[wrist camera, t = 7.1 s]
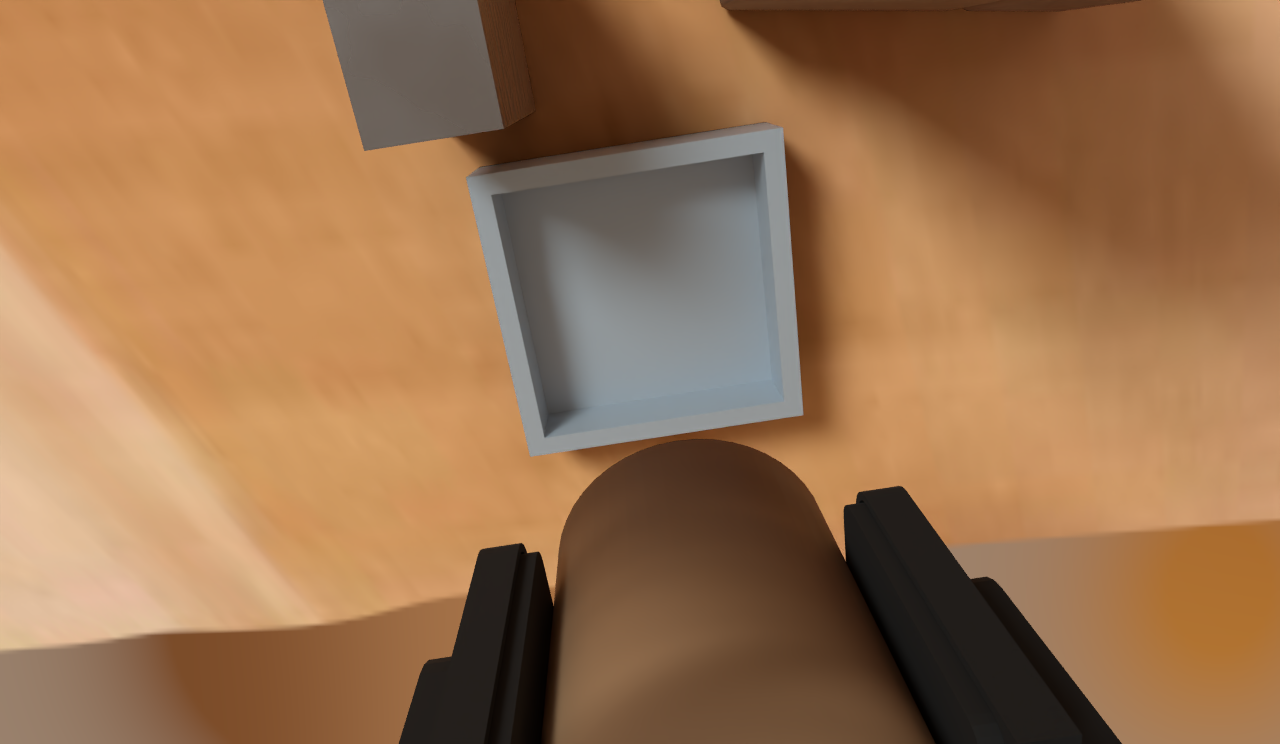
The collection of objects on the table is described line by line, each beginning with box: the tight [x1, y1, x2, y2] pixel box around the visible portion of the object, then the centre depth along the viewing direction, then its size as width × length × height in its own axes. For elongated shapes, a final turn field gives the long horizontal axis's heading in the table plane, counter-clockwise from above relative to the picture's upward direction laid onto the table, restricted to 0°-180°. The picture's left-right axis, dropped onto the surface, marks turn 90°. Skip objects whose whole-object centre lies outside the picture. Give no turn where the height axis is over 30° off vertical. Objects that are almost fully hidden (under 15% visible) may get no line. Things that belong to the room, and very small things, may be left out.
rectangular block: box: [323, 0, 536, 151], centre depth 18 cm, size 3×6×8 cm, turn 9°
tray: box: [466, 122, 803, 457], centre depth 24 cm, size 9×9×2 cm
